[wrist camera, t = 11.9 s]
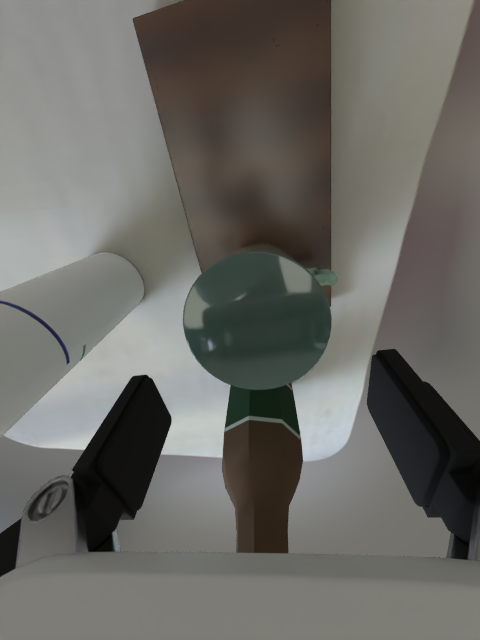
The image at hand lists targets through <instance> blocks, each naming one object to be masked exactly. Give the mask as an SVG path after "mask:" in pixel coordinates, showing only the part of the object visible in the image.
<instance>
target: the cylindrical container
mask: <svg viewBox="0 0 480 640" xmlns="http://www.w3.org/2000/svg"><path fill="white" fill-rule="evenodd" d="M143 295H144V284H143V280H142V278H141V276H140V274H139V272H138V271H137V269H136V268H135V267H134V266H133V265H132V264H131V263H130V262H129V261H128V260H126V259H124V258H123V257H121V256H119V255H116V254H113V253H107V252H102V253H97V254H94V255H92V256H89V257H87V258H84V259H82V260H79V261H77V262H74V263H72V264H69V265H67V266H64V267H62V268H59V269H56V270H54V271H51V272H49V273H46V274H44V275H41V276H39V277H37V278H34V279H32V280H29V281H27V282H24V283H22V284H19V285H17V286H14V287H12V288H9V289H7V290H4V291H2V292H0V438H1V437H2V436H3V435H4V434H5V433H6V432H7V431H8V430H9V429H10V428H11V427H12V426H13V425H14V424H15V423H16V422H17V421H18V420H19V419H20V418H21V417H22V416H23V415H24V414H25V413H27V412H28V411H29V410H30V409H31V408H32V407H33V406H34V405H35V404H36V403H37V402H38V401H39V400H40V399H41V398H42V397H43V396H44V395H45V394H46V393H47V392H48V391H49V390H50V389H51V388H52V387H53V386H54V385H56V384H57V383H58V382H59V381H60V380H61V379H62V378H63V377H64V376H65V375H66V374H67V373H68V372H69V371H70V370H71V369H72V368H73V367H74V366H75V365H76V364H77V363H78V362H79V361H80V360H81V359H83V358H84V357H85V356H86V355H87V354H88V353H89V352H90V351H91V350H92V349H93V348H94V347H95V346H96V345H97V344H98V343H99V342H100V341H101V340H102V339H103V338H104V337H105V336H106V335H107V334H108V333H109V332H111V331H112V330H113V329H114V328H115V327H116V326H117V325H118V324H119V323H120V322H121V321H122V320H123V319H124V318H125V317H126V316H127V315H128V314H129V313H130V312H131V311H132V310H133V309H134V308H135V307H136V306H138V304H139V303H140V302H141V300H142V298H143Z"/></svg>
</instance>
